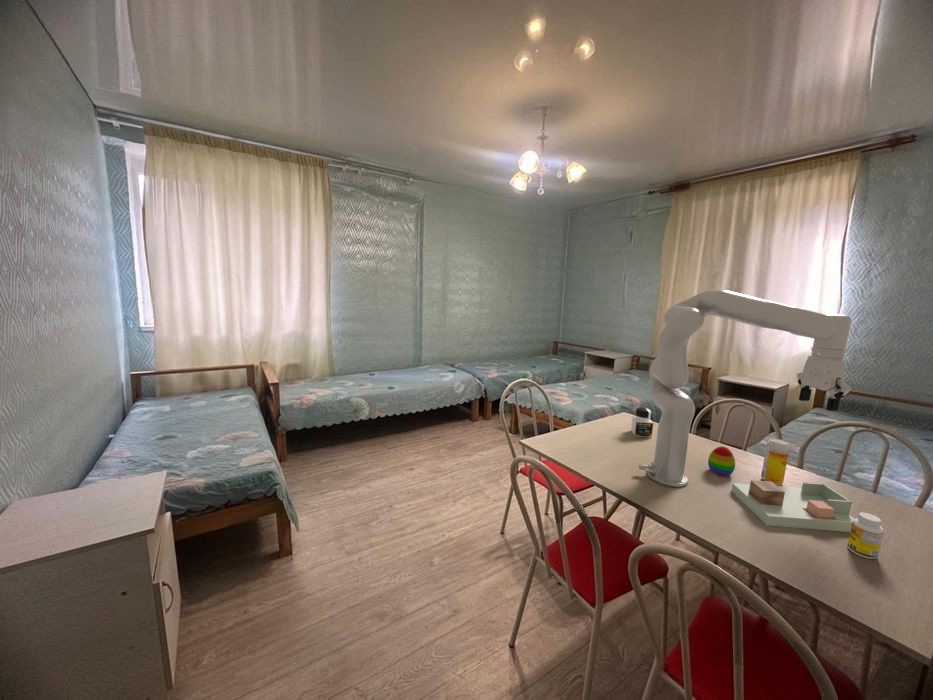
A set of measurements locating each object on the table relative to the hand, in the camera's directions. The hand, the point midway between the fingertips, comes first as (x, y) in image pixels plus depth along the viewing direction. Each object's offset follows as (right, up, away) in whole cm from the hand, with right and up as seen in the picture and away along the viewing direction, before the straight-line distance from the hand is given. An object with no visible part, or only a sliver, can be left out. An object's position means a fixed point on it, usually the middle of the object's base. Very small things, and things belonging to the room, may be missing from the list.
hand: (817, 405), depth 124 cm
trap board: (-15, -31, -7) cm, 35 cm away
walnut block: (-22, -28, -6) cm, 36 cm away
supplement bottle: (-11, -35, -25) cm, 44 cm away
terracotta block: (-12, -32, -13) cm, 37 cm away
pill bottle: (-7, -28, +10) cm, 31 cm away
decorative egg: (-21, -27, +16) cm, 38 cm away
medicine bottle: (-34, -21, +50) cm, 64 cm away
